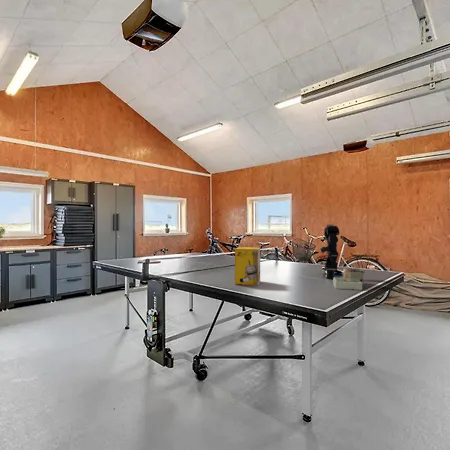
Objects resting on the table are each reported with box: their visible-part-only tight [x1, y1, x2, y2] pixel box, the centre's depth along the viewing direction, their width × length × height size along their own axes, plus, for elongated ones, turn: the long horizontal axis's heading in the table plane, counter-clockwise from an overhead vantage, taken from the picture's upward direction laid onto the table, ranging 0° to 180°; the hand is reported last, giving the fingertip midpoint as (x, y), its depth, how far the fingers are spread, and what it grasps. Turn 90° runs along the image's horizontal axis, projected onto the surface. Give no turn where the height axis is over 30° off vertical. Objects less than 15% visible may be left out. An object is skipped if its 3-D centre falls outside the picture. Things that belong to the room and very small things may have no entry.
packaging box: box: [234, 246, 261, 286], centre depth 214 cm, size 16×16×25 cm
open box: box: [332, 277, 363, 291], centre depth 201 cm, size 16×16×4 cm
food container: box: [350, 268, 365, 284], centre depth 213 cm, size 12×6×10 cm, turn 74°
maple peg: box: [343, 268, 352, 282], centre depth 201 cm, size 4×4×12 cm
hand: (332, 264), depth 216 cm, fingers open, 9 cm apart
